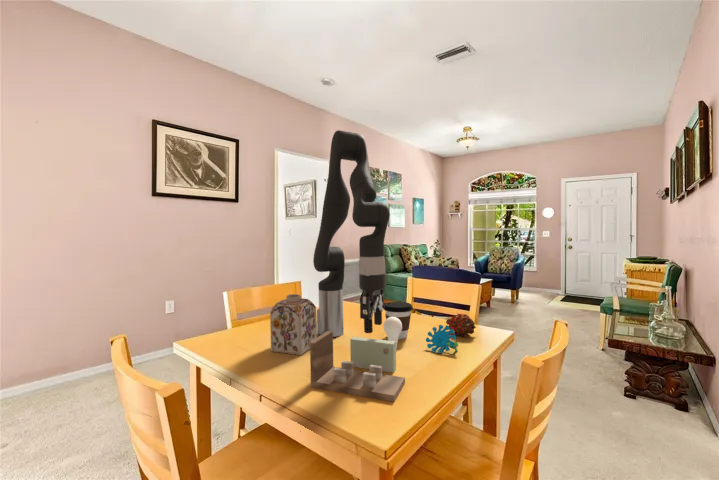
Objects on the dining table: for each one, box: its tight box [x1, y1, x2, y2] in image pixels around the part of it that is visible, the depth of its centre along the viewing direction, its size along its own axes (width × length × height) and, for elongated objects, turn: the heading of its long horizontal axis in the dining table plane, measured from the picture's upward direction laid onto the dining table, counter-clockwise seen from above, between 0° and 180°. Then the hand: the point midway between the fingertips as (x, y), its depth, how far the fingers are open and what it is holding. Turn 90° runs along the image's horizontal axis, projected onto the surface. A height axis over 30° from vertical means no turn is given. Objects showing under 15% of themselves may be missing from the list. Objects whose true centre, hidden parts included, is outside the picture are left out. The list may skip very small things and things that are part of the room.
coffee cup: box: [383, 301, 414, 340], centre depth 125 cm, size 11×11×12 cm
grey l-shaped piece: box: [309, 331, 406, 403], centre depth 87 cm, size 22×10×12 cm, turn 68°
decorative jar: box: [269, 293, 318, 356], centre depth 115 cm, size 12×12×18 cm
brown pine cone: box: [445, 313, 477, 337], centre depth 127 cm, size 8×8×12 cm
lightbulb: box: [383, 317, 402, 350], centre depth 112 cm, size 6×6×11 cm
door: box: [349, 336, 397, 373], centre depth 97 cm, size 13×4×8 cm, turn 68°
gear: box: [425, 324, 459, 354], centre depth 112 cm, size 11×6×10 cm
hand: (373, 328), depth 97 cm, fingers open, 8 cm apart
